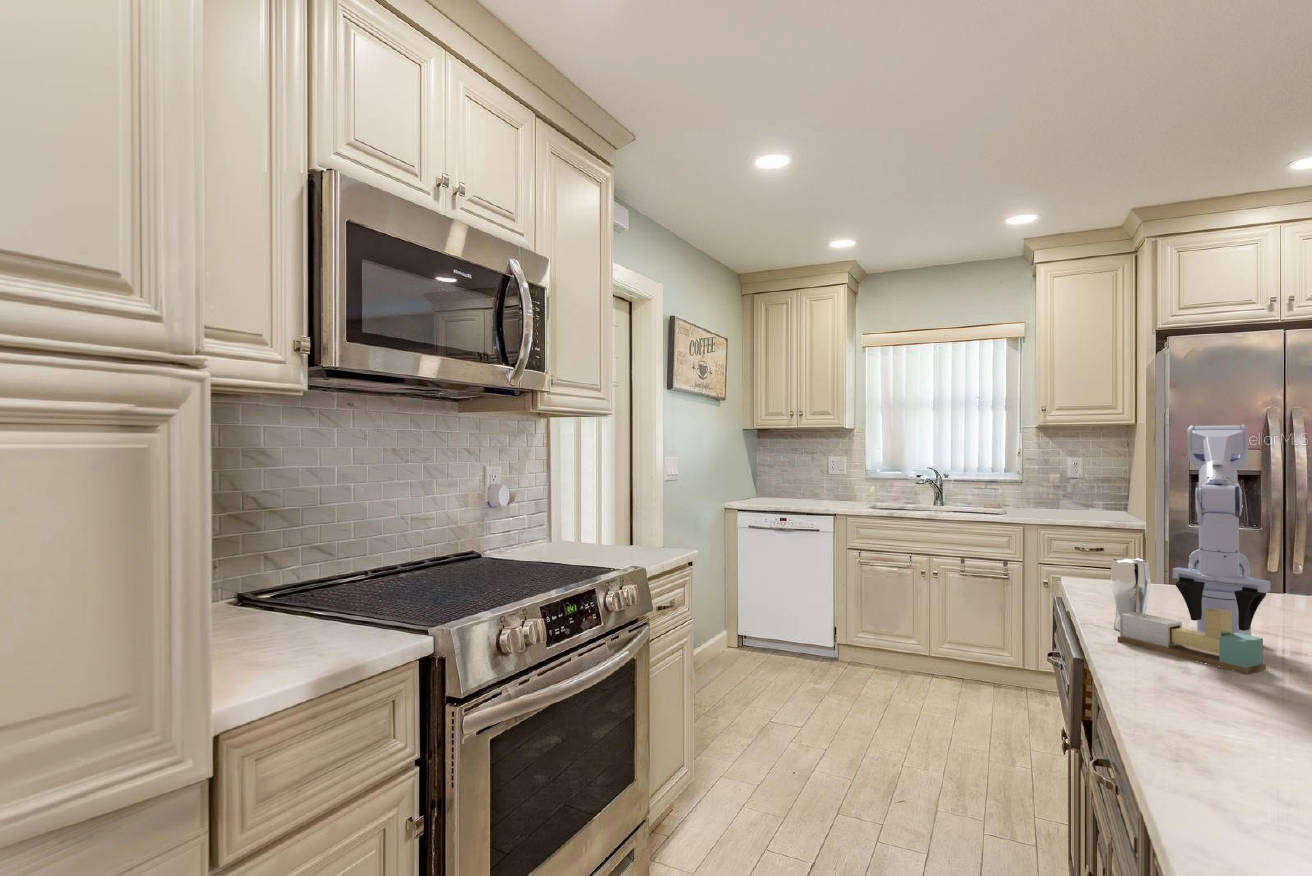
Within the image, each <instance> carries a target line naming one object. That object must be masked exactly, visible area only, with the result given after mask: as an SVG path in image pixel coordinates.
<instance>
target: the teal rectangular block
mask: <svg viewBox="0 0 1312 876" xmlns="http://www.w3.org/2000/svg"><path fill="white" fill-rule="evenodd" d="M1219 662H1223V663H1227V664H1231V665H1235V666H1239V667H1243V668H1248V667H1252V666H1256V665H1260V664H1263V663H1264V638H1263V637H1258V636H1253V635H1251V636H1250V635H1245V634H1240V633H1233V634H1228V635H1223V636H1219Z"/></svg>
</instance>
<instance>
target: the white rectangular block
mask: <svg viewBox="0 0 1312 876" xmlns="http://www.w3.org/2000/svg"><path fill="white" fill-rule="evenodd" d="M1182 623H1183V622H1182V621H1179V620H1175V619H1170V618H1165V617H1160V616H1156V615H1151V614H1142V613H1138V612H1128V613H1122V614H1120V631H1119V636H1122V637H1126V638H1130V639H1134V640H1138V641H1142V642H1146V643H1150V644H1154V645H1158V646H1162V647H1166V648H1171V647H1175V646H1180V645H1181V644H1177V643H1173V642H1170V627H1174V626H1177V627H1181V628H1183V625H1182Z"/></svg>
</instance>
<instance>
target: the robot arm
mask: <svg viewBox="0 0 1312 876" xmlns="http://www.w3.org/2000/svg"><path fill="white" fill-rule="evenodd" d="M1186 433H1187V436H1186V437H1187V440H1186V441H1187V452H1188V461H1189V463H1190V466H1191V467H1193V468H1196V469H1197V470H1198V487H1196V488H1195V512H1196V515H1197V524H1198V549H1196V550H1194V551H1192V552H1191V553H1190V554H1189V556H1188V557H1189V559H1188V568H1185V567H1172V579H1175V580H1178V581H1175V587H1176V588H1177V590H1178V591H1179V592H1180V594H1181V596H1182V598H1183V600H1184V602H1185V605H1186V607H1187V610H1188V614H1189V617H1190V620H1191V621H1196V631H1199V632H1204V633H1205V610H1207V609H1212V608H1220V609H1225V610H1231V611H1232V634H1233V633H1240V634H1245V635H1250V636H1252V623H1253V619H1254V617H1255V614H1256V611H1257V610H1258V608H1259V606H1260V604H1261V603H1262V602H1263V600H1264V599H1265V598H1266V596H1267V593H1271V580H1265V579H1261V578H1254V577H1251V568H1250V560H1249V559H1248V557H1247V556H1246V555H1244V554H1243V553H1242V552H1240V517H1241V516H1242V513H1243V492H1242V487H1241V486H1240V483H1239V481H1238V479H1239V478H1238V471H1237V470H1239V469H1242V468H1244V467H1246V463H1247V462H1248V453H1249V428H1248V426H1247V425H1245V424H1240V425H1238V424H1237V425H1195V426H1194V425H1193V424H1190V426H1189V427H1188V428H1187V432H1186ZM1236 513H1237V514H1238V516H1239V517H1238V516H1237V515H1236Z"/></svg>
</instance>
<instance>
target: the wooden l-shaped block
mask: <svg viewBox="0 0 1312 876" xmlns="http://www.w3.org/2000/svg"><path fill="white" fill-rule="evenodd" d="M1228 634H1232V611H1231V610H1225V609H1220V608H1212V609H1207V610H1205V633H1204V632H1199V631H1197V630H1194V629H1190V628H1185V627H1182V628H1181V627H1177V626H1174V627H1170V642H1173V643H1177V644H1181V645H1185V646H1189V647H1193V648H1198V649H1202V650H1206V651H1210V652H1214V653H1218V654H1219V636H1223V635H1228Z"/></svg>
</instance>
